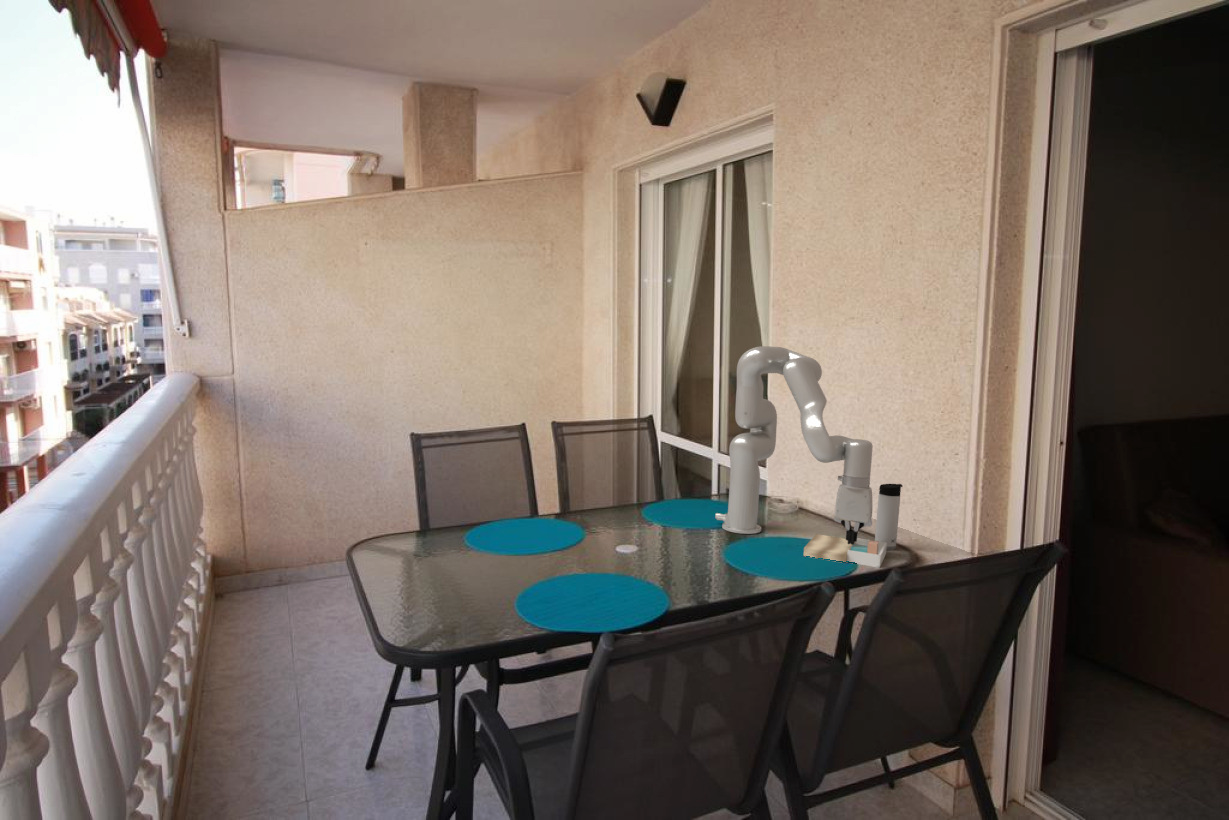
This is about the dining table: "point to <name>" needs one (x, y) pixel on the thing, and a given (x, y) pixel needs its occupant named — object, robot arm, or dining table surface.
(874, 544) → the tile terracotta
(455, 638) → the dining table surface
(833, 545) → the board
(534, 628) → the dining table surface
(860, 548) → the tile teal
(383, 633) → the dining table surface
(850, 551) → the tray
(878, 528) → the travel mug
